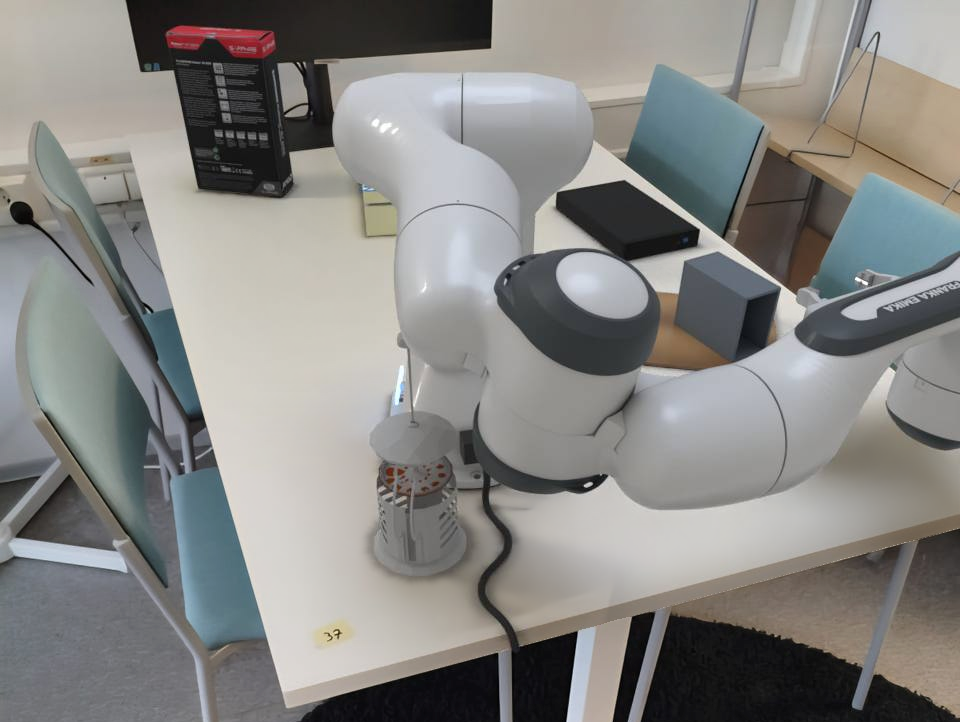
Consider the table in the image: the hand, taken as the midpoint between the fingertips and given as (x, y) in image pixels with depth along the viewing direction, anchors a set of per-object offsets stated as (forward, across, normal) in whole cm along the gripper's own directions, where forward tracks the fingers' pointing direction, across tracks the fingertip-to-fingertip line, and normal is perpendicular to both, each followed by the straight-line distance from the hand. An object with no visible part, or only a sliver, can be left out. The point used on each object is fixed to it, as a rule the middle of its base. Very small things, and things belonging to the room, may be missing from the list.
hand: (830, 284), depth 99 cm
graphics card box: (+100, -39, -14) cm, 109 cm away
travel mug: (+48, -13, -15) cm, 52 cm away
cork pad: (+18, +1, -15) cm, 23 cm away
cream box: (+89, -13, -13) cm, 91 cm away
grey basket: (+16, +1, -15) cm, 22 cm away
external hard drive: (+53, +12, -14) cm, 56 cm away
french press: (0, -53, -17) cm, 56 cm away
